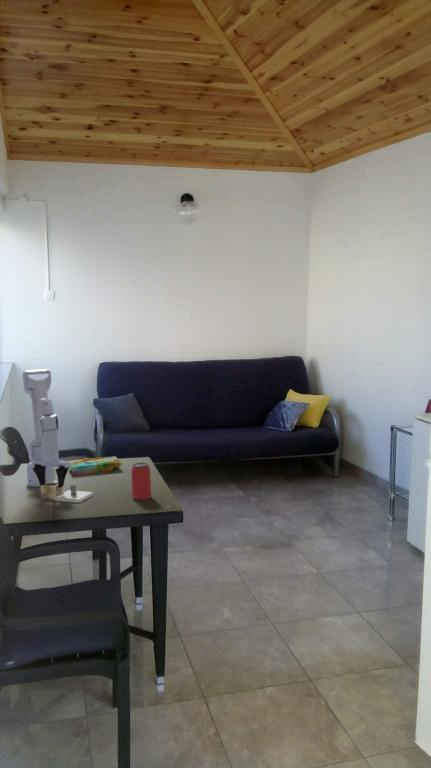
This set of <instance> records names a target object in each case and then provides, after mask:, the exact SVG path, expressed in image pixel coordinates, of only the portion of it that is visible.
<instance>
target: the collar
mask: <svg viewBox="0 0 431 768" xmlns="http://www.w3.org/2000/svg"><path fill="white" fill-rule="evenodd" d="M62 493H64V486H63V487H61V488H59V486H58V482H48V483H46V484H44V485H42V486H41V487H40V498H41V499H46V500H55V497H56V496H58V495H60V494H62Z"/></svg>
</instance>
